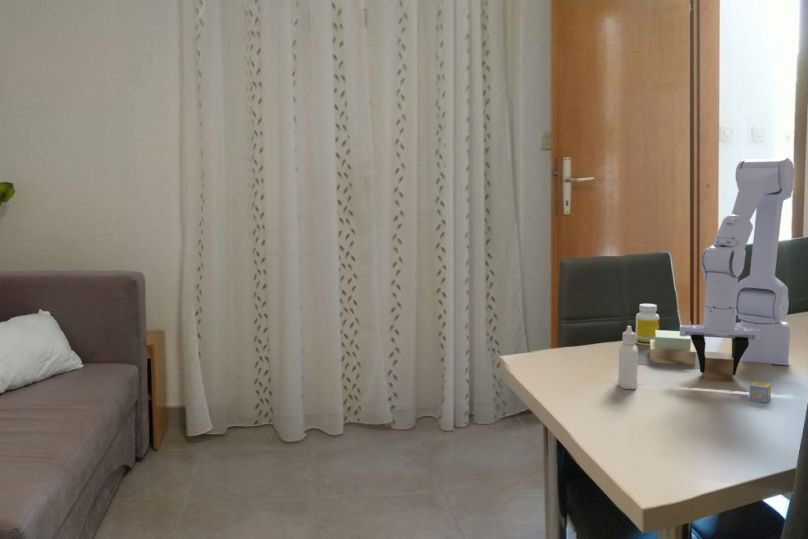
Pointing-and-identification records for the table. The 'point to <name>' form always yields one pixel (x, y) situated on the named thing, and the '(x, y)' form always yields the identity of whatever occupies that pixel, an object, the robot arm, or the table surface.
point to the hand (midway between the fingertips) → (717, 372)
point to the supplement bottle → (646, 323)
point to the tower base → (672, 355)
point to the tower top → (671, 340)
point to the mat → (645, 360)
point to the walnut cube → (718, 366)
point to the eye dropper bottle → (628, 360)
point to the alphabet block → (760, 392)
